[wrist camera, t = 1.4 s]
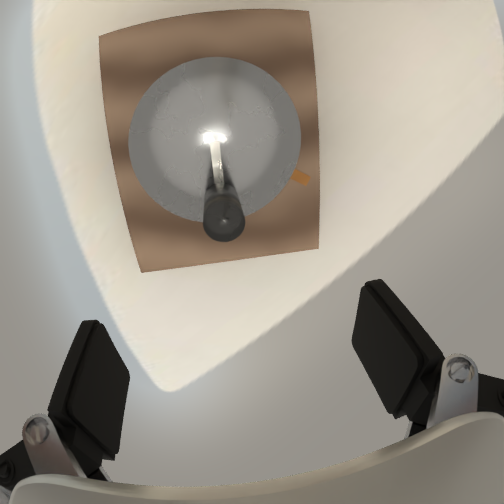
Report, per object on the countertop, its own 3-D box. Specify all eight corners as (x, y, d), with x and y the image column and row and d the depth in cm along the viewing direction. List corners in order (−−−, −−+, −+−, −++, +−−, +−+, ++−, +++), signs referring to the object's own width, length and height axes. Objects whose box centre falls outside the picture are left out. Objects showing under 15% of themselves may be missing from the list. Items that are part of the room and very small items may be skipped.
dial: (123, 76, 17) (93, 67, 11) (290, 55, 18) (319, 39, 12) (148, 227, 23) (132, 264, 18) (299, 207, 24) (324, 238, 19)
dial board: (106, 40, 16) (98, 36, 15) (301, 17, 18) (309, 10, 16) (145, 262, 27) (141, 273, 25) (312, 239, 28) (318, 249, 27)
